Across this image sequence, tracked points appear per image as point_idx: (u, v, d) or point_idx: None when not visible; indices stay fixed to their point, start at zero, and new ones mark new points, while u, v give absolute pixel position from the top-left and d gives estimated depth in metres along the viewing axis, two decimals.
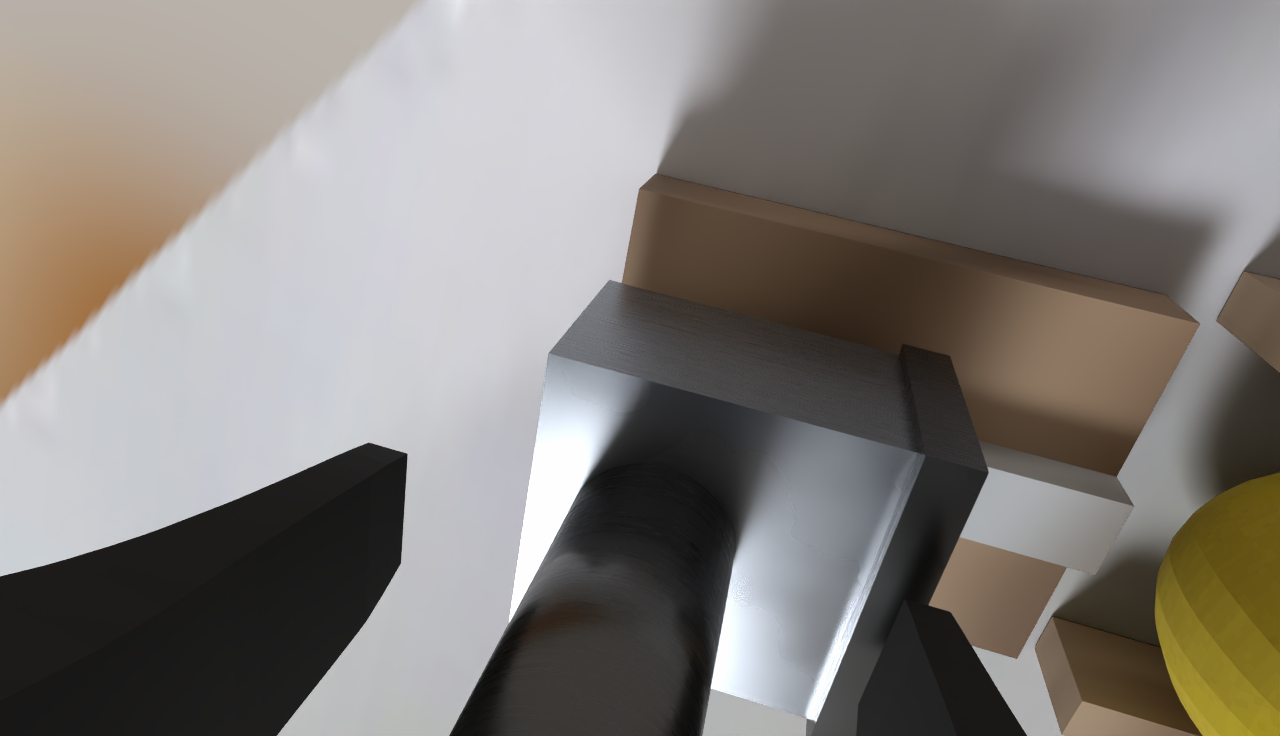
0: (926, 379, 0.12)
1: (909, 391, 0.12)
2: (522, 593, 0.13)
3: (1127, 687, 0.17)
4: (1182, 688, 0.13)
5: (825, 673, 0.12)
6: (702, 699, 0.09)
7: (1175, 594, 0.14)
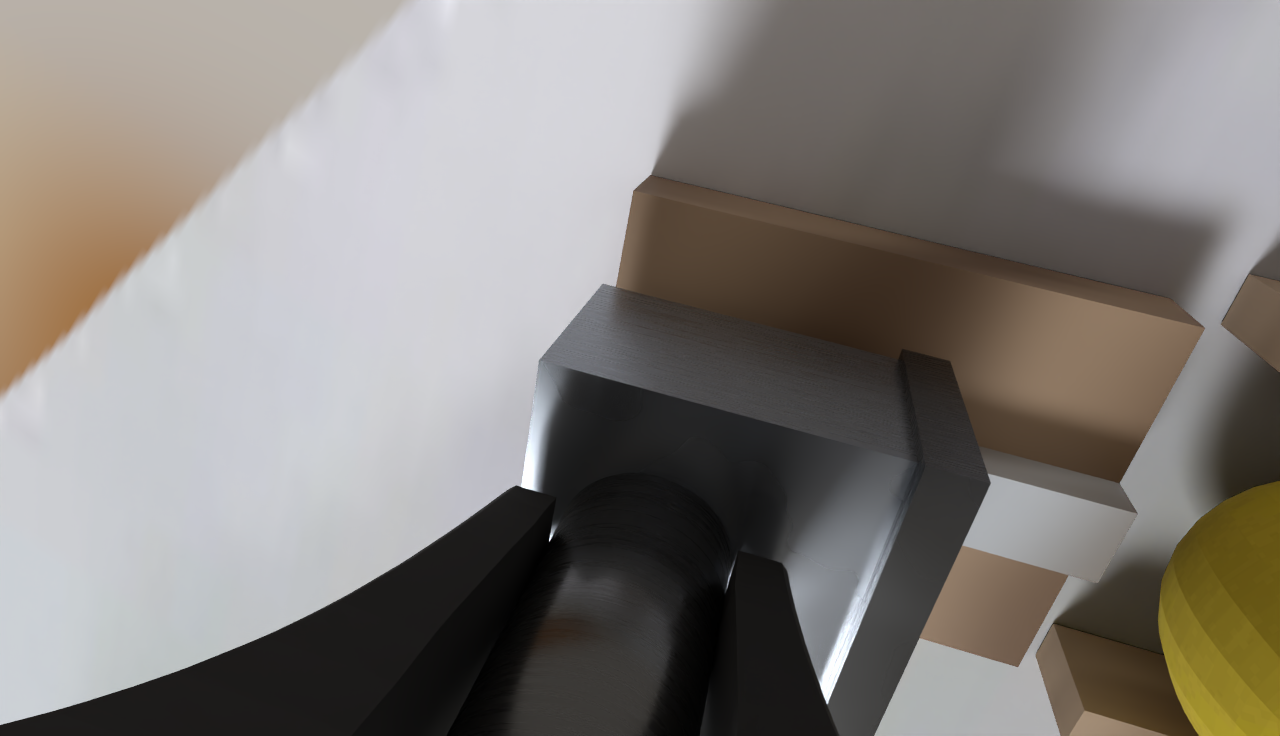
0: (926, 385, 0.12)
1: (908, 398, 0.12)
2: None
3: (1130, 696, 0.16)
4: (1187, 700, 0.13)
5: (823, 686, 0.12)
6: (696, 719, 0.09)
7: (1179, 603, 0.13)
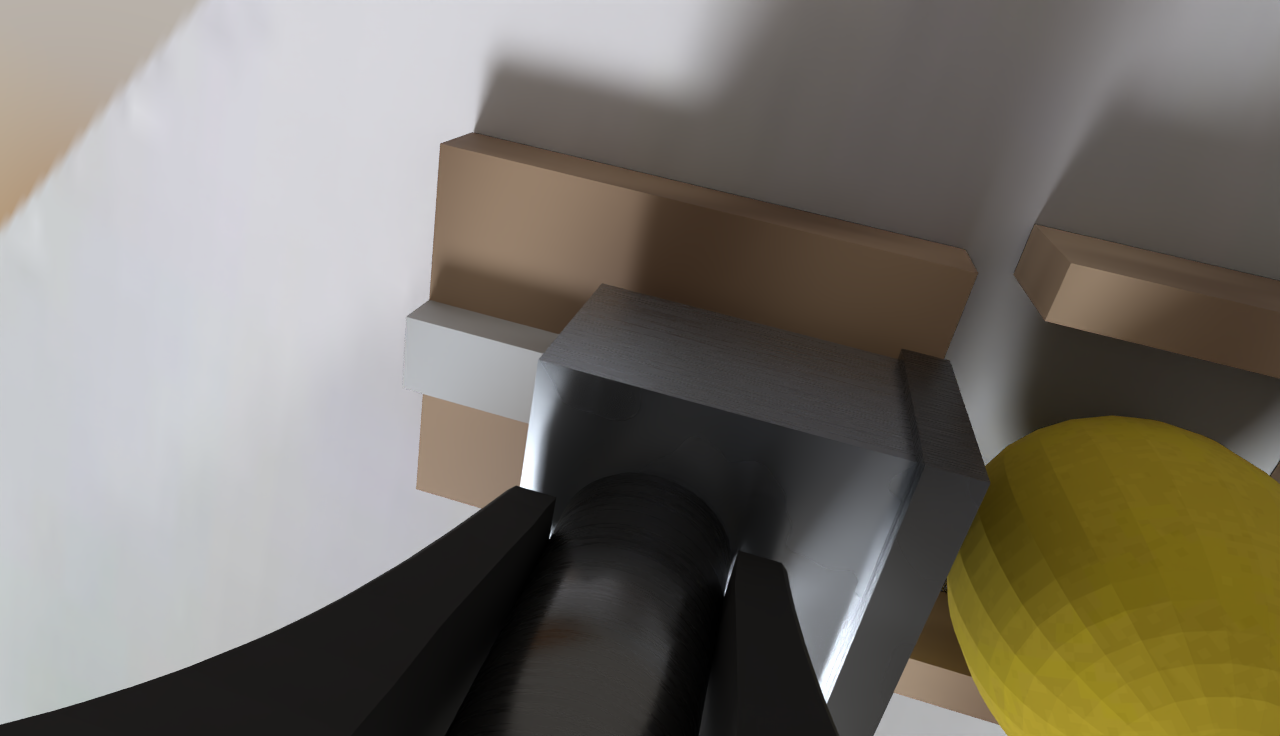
0: (925, 385, 0.12)
1: (908, 397, 0.12)
2: None
3: (945, 642, 0.17)
4: (955, 632, 0.13)
5: (822, 686, 0.12)
6: (694, 719, 0.09)
7: None
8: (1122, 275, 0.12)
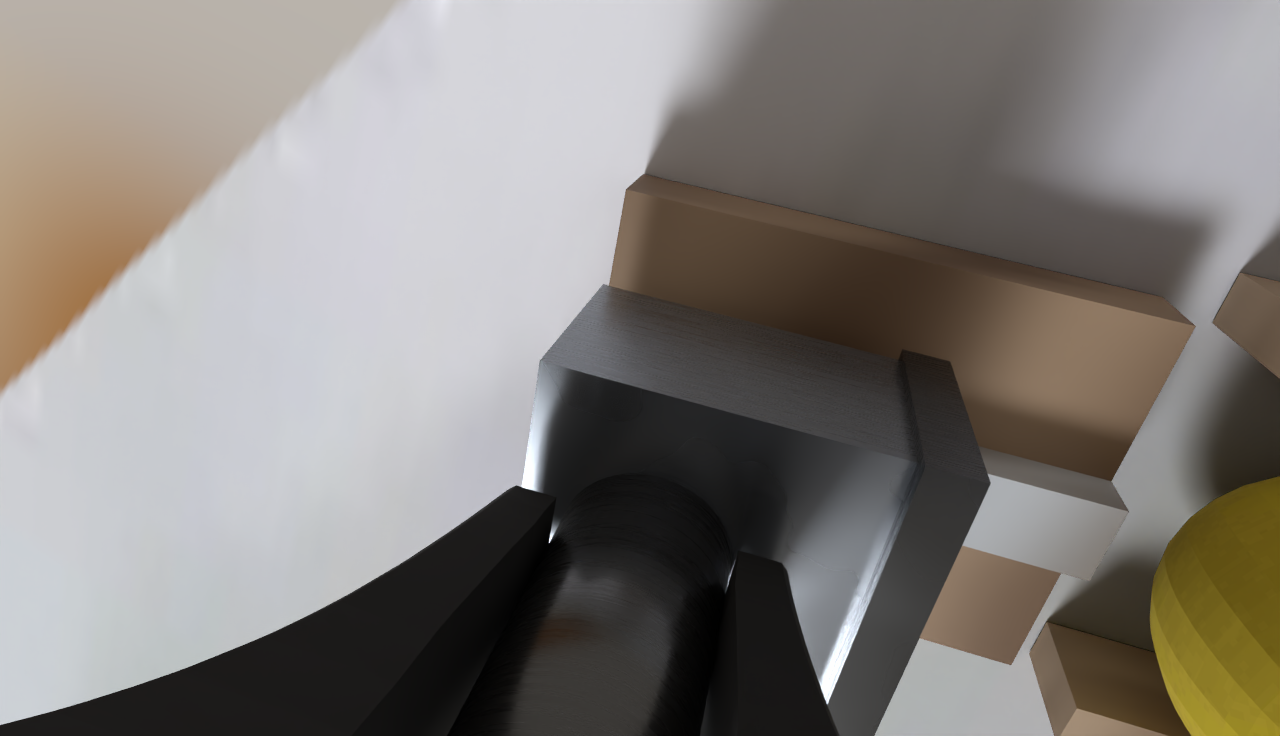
0: (926, 386, 0.12)
1: (908, 398, 0.12)
2: None
3: (1123, 694, 0.16)
4: (1177, 697, 0.13)
5: (823, 686, 0.12)
6: (696, 718, 0.09)
7: (1170, 601, 0.13)
8: None
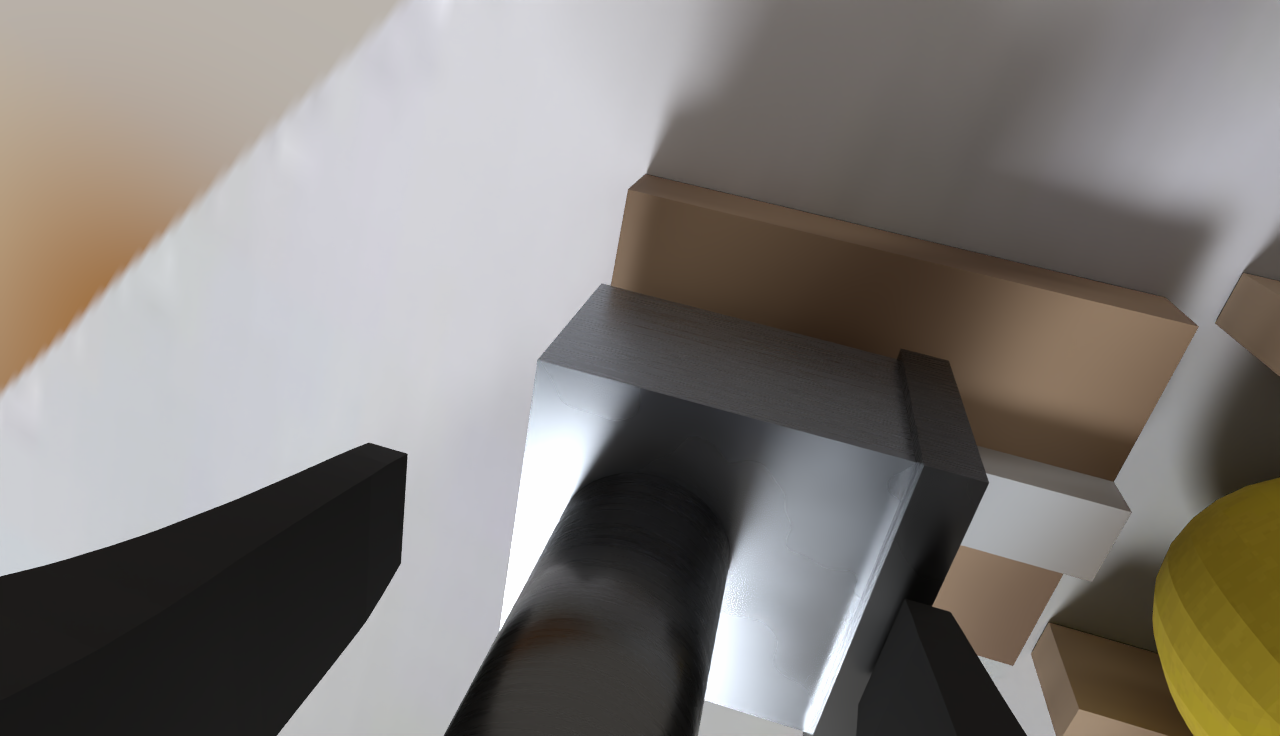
0: (924, 385, 0.12)
1: (907, 397, 0.12)
2: (512, 604, 0.13)
3: (1125, 695, 0.16)
4: (1180, 698, 0.13)
5: (821, 685, 0.12)
6: (694, 718, 0.09)
7: (1173, 602, 0.13)
8: None
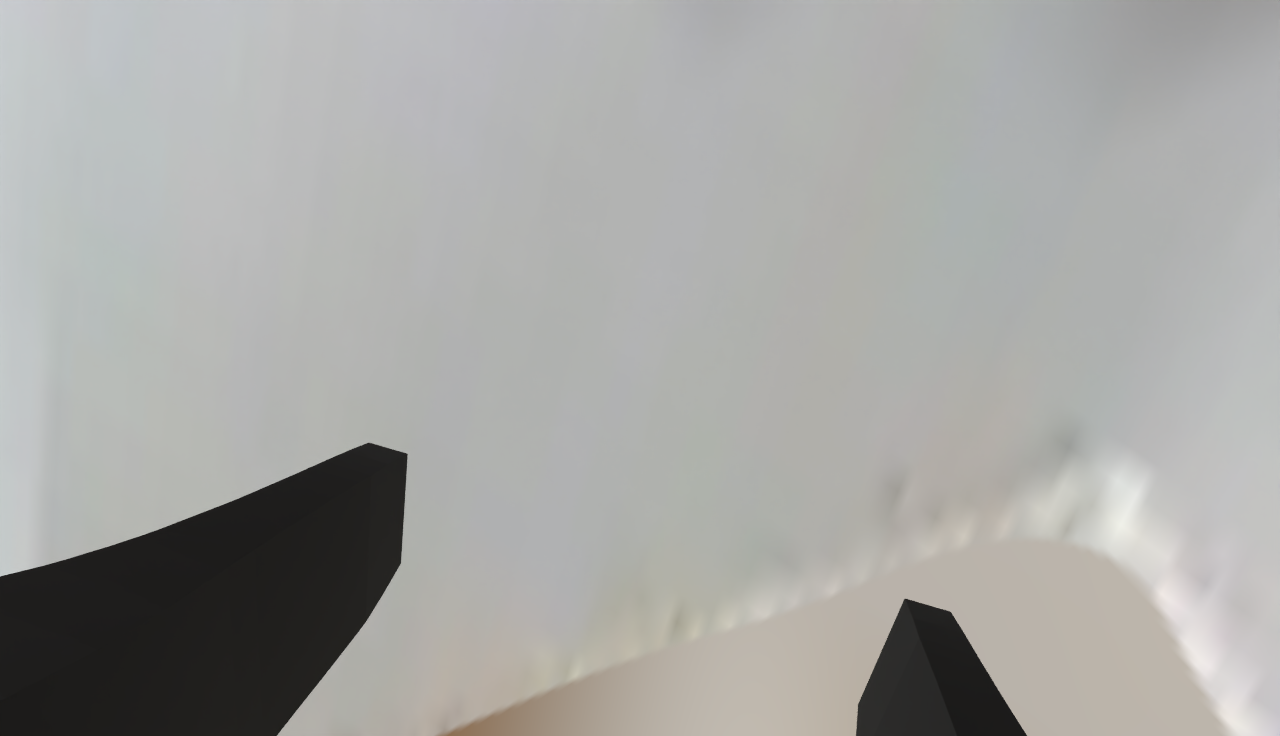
0: None
1: None
2: None
3: None
4: None
5: None
6: None
7: None
8: None
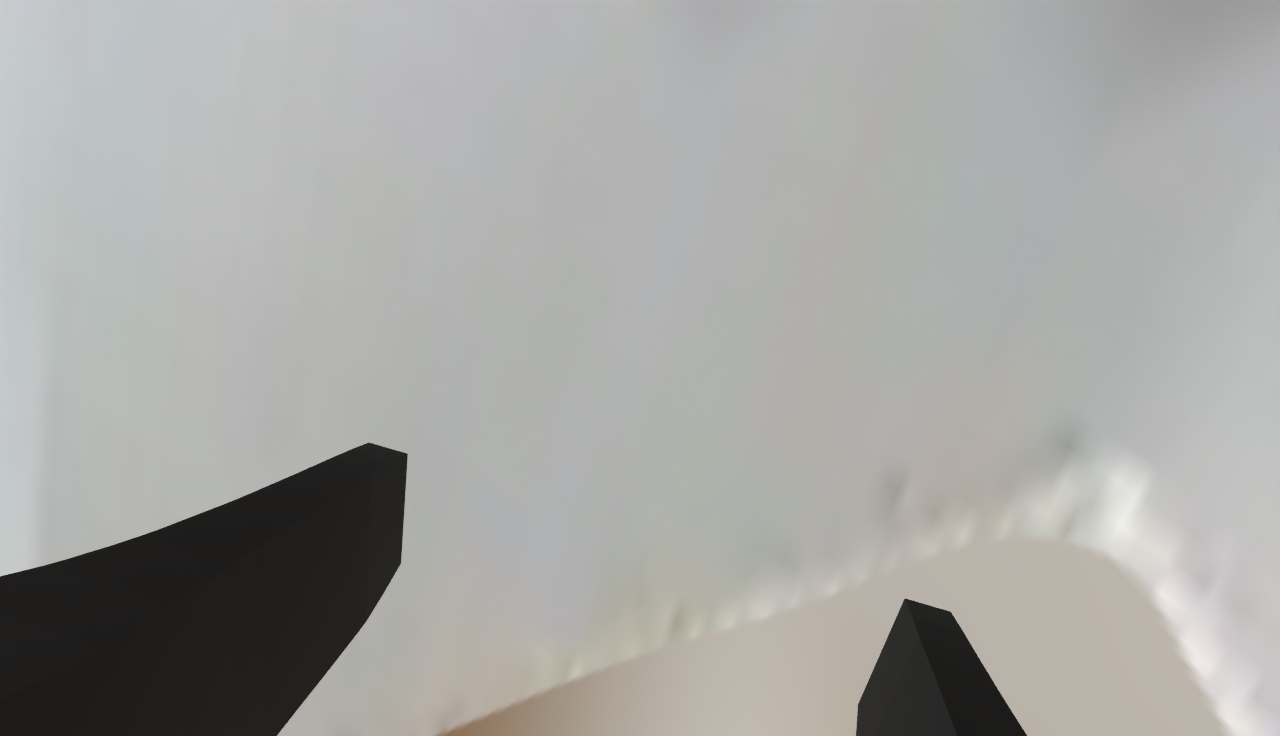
0: None
1: None
2: None
3: None
4: None
5: None
6: None
7: None
8: None
